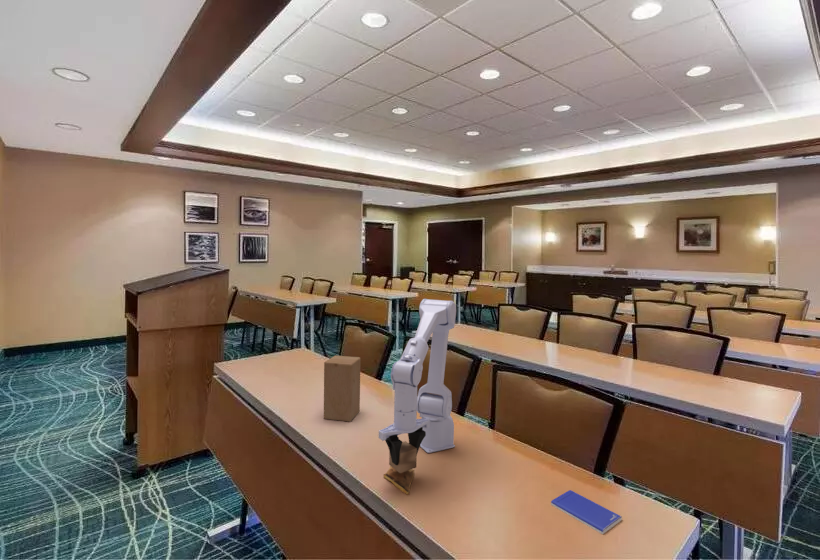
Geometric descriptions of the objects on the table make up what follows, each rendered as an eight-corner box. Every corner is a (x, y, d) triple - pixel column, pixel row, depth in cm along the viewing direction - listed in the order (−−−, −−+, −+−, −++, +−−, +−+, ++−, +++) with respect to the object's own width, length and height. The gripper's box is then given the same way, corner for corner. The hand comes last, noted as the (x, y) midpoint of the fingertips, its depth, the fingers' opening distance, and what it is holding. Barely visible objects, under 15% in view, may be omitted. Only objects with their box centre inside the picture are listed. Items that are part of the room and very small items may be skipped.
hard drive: (622, 515, 91) (570, 489, 100) (602, 529, 86) (550, 500, 95) (621, 522, 91) (570, 495, 101) (602, 537, 86) (550, 507, 96)
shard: (408, 498, 98) (408, 490, 97) (377, 494, 99) (377, 487, 99) (415, 473, 108) (415, 467, 108) (387, 470, 110) (387, 464, 109)
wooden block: (350, 422, 139) (351, 364, 138) (322, 419, 141) (323, 361, 140) (360, 411, 149) (361, 357, 148) (334, 408, 151) (334, 355, 150)
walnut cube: (405, 459, 109) (405, 440, 108) (416, 467, 104) (416, 448, 104) (389, 464, 106) (389, 445, 105) (400, 473, 102) (400, 453, 101)
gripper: (418, 398, 111) (417, 446, 112) (372, 408, 103) (371, 461, 104) (435, 406, 105) (433, 457, 106) (387, 418, 97) (386, 474, 98)
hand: (404, 460), depth 105 cm, fingers closed on walnut cube, 5 cm apart
